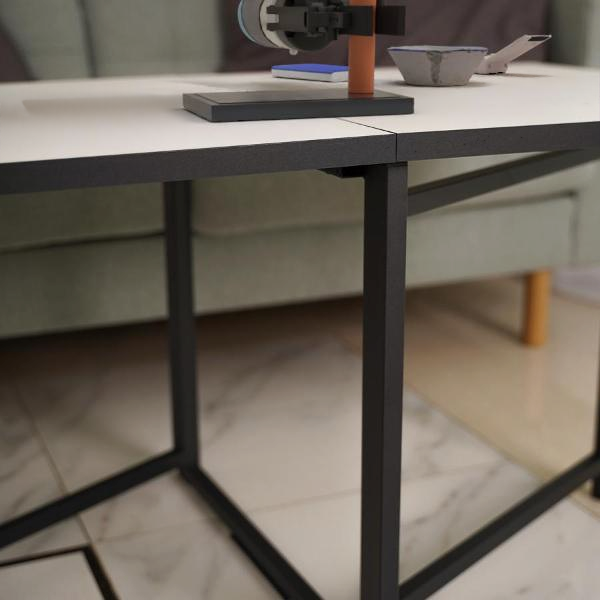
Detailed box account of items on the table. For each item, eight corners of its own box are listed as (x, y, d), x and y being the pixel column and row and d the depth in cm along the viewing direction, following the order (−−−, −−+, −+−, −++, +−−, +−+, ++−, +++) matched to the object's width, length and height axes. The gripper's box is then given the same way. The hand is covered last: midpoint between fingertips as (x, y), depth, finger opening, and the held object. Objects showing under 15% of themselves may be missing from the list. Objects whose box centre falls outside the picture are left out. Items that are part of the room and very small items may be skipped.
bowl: (504, 82, 121) (507, 45, 119) (451, 89, 112) (453, 49, 110) (423, 78, 129) (425, 42, 127) (367, 84, 120) (368, 46, 118)
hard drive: (271, 65, 131) (331, 70, 122) (312, 63, 136) (373, 67, 127) (271, 76, 131) (331, 82, 122) (312, 74, 136) (373, 79, 128)
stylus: (353, 94, 90) (356, -35, 86) (344, 91, 92) (345, -34, 89) (377, 93, 91) (381, -35, 87) (367, 90, 93) (370, -34, 89)
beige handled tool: (528, 34, 127) (403, 29, 146) (524, 78, 129) (401, 67, 148) (555, 34, 131) (430, 29, 149) (551, 76, 133) (428, 66, 151)
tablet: (211, 122, 81) (211, 104, 81) (183, 108, 92) (182, 92, 92) (414, 113, 88) (414, 97, 87) (364, 101, 98) (365, 86, 98)
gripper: (363, 49, 109) (458, 60, 88) (237, 52, 104) (306, 64, 83) (364, -17, 107) (462, -22, 86) (235, -18, 102) (306, -23, 81)
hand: (385, 20), depth 84 cm, fingers closed on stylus, 3 cm apart
